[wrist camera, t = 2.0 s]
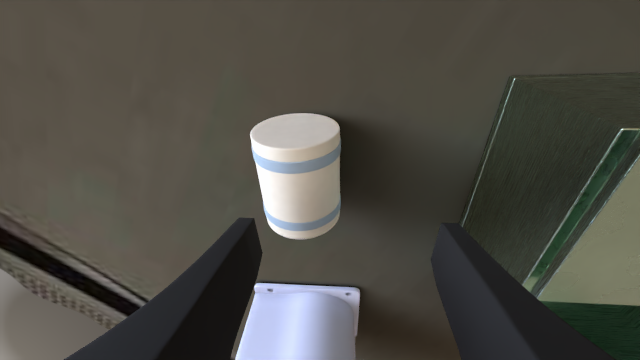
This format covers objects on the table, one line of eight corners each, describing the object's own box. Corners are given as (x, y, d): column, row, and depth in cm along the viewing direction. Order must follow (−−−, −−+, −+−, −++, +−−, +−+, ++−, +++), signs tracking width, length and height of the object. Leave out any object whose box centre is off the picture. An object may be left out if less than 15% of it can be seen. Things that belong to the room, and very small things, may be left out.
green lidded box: (590, 276, 20) (692, 391, 14) (442, 270, 21) (480, 375, 15) (765, 70, 12) (1182, 139, 6) (509, 75, 13) (649, 140, 7)
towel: (322, 184, 19) (259, 202, 17) (319, 107, 16) (242, 121, 14) (354, 225, 15) (277, 251, 14) (357, 136, 12) (259, 158, 11)
